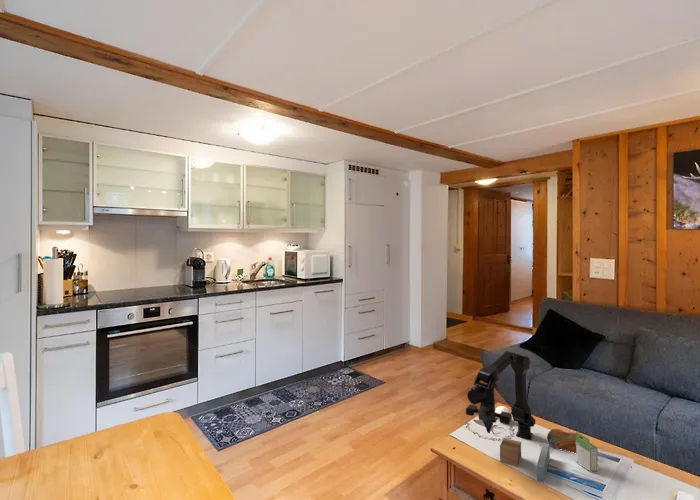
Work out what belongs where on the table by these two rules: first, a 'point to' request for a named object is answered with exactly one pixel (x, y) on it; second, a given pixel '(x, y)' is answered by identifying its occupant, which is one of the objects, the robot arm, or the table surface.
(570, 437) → the tin
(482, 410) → the robot arm
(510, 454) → the walnut block
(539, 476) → the slate board
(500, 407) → the geometric ball
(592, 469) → the ink box
